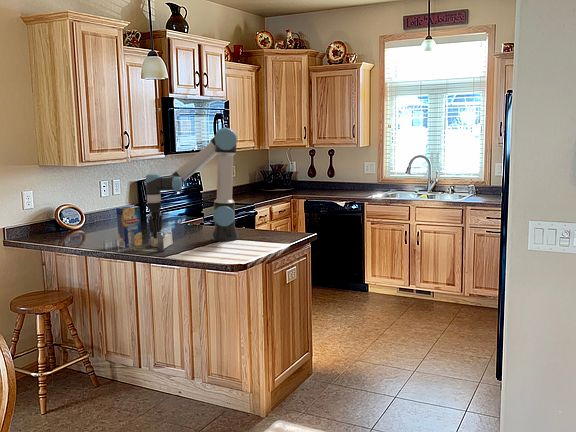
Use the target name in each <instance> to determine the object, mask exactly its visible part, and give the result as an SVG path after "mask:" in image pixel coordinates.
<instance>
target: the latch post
mask: <svg viewBox="0 0 576 432" xmlns="http://www.w3.org/2000/svg"><path fill="white" fill-rule="evenodd" d="M128 240H129V247H128V249H129V252H130V251H131V252H132V251H135V250H134V249H136V246H135V238H134V232H128Z"/></svg>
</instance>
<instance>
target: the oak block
mask: <svg viewBox="0 0 576 432" xmlns="http://www.w3.org/2000/svg"><path fill="white" fill-rule="evenodd" d="M165 235H166V234H163V236H165ZM150 243H151V245H150V246H151V247H155V248H156V247H157V248H158V244H154V238H153V236H152V237H151V238H150Z"/></svg>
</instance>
